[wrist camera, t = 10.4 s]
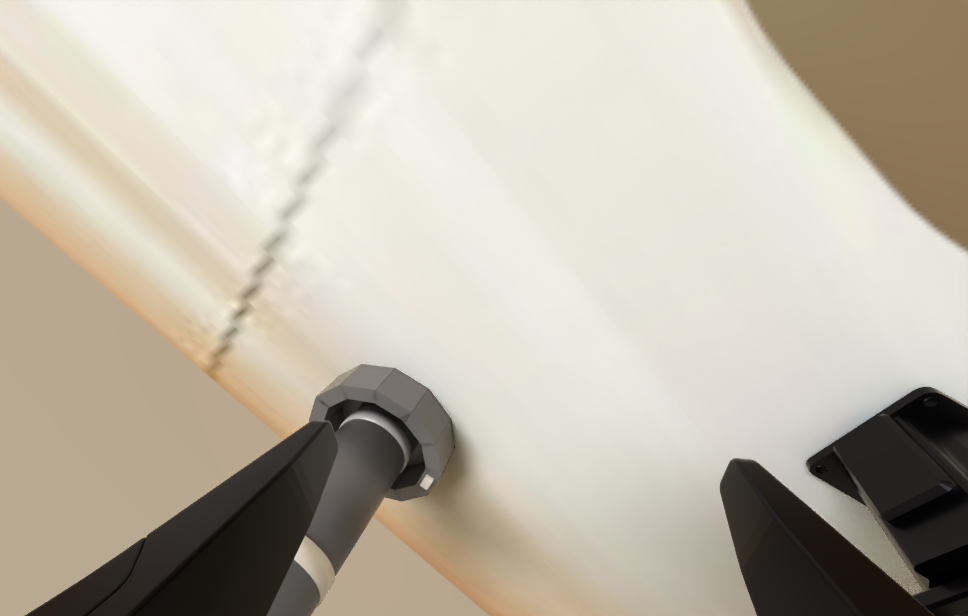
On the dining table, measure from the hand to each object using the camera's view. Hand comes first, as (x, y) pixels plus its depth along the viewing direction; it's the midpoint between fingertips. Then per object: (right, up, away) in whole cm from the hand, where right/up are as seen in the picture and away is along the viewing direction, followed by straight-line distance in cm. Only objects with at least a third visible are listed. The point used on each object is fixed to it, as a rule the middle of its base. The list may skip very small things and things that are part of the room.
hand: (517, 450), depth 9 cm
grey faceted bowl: (-8, -5, +20) cm, 22 cm away
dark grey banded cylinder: (-8, -6, +20) cm, 22 cm away
